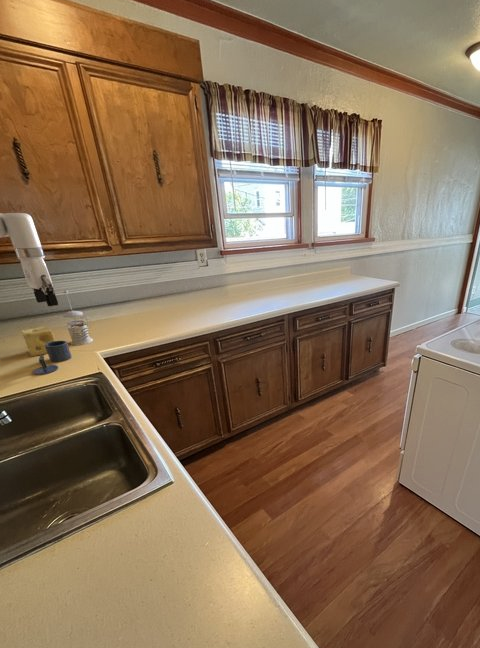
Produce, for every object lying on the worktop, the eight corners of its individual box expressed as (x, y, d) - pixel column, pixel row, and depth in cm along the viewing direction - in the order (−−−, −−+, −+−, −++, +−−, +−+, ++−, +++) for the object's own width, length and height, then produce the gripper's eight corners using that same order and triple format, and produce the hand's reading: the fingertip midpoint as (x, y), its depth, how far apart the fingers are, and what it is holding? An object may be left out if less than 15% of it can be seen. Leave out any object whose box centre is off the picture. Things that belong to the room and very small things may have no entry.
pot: (50, 364, 136) (44, 348, 132) (51, 358, 142) (45, 342, 138) (72, 361, 140) (66, 344, 136) (71, 355, 145) (66, 339, 142)
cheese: (31, 357, 143) (22, 335, 139) (28, 350, 150) (20, 329, 146) (59, 351, 149) (51, 330, 145) (55, 345, 157) (48, 325, 152)
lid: (33, 377, 125) (27, 363, 122) (34, 370, 131) (28, 356, 128) (58, 373, 129) (53, 358, 126) (58, 365, 135) (53, 352, 132)
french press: (65, 343, 159) (47, 291, 147) (86, 336, 168) (71, 286, 157) (80, 346, 156) (62, 293, 144) (100, 338, 165) (86, 288, 154)
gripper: (8, 252, 113) (27, 302, 121) (26, 256, 104) (45, 309, 112) (33, 251, 118) (50, 298, 126) (53, 254, 109) (69, 305, 117)
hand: (47, 303), depth 119 cm, fingers open, 9 cm apart
